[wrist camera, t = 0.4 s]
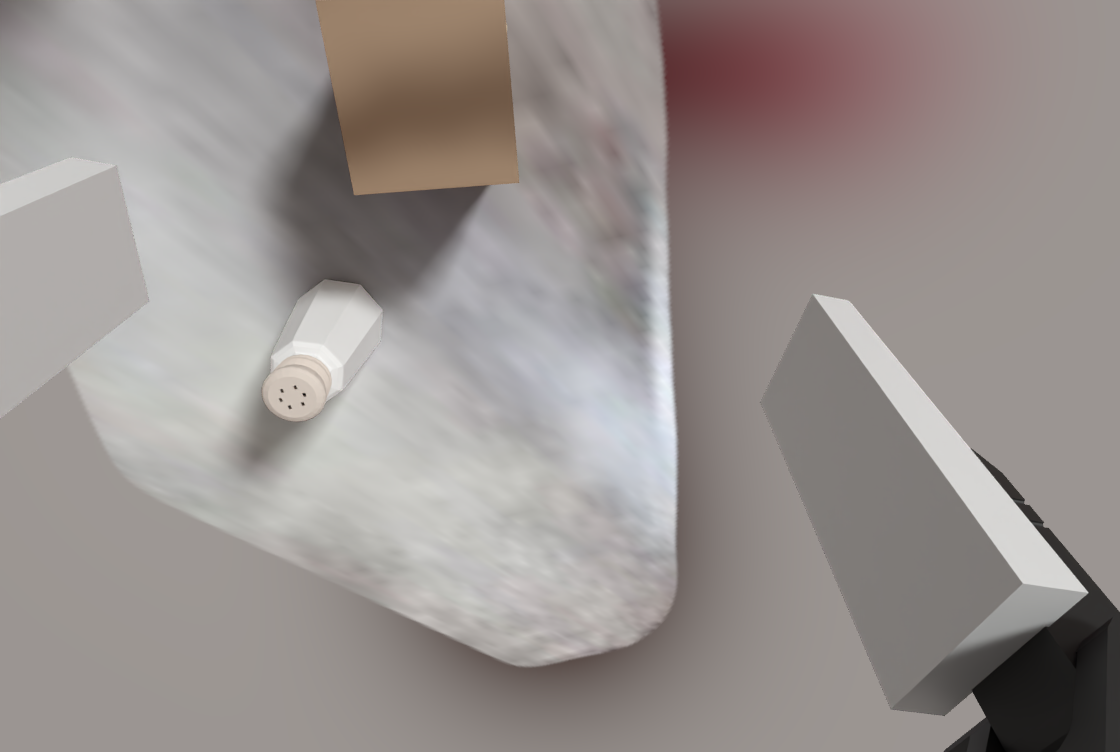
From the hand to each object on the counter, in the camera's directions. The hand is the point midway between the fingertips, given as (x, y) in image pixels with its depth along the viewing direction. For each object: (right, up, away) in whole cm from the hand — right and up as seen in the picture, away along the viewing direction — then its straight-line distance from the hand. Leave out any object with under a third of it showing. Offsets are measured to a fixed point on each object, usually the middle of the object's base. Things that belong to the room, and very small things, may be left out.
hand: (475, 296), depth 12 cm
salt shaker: (-12, +2, +25) cm, 28 cm away
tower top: (-4, +12, +16) cm, 21 cm away
